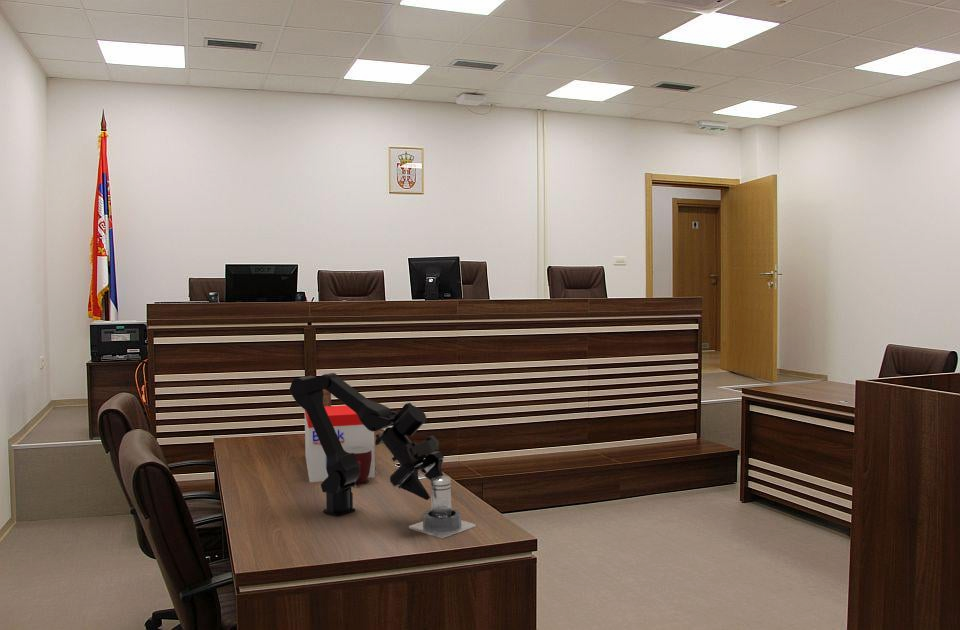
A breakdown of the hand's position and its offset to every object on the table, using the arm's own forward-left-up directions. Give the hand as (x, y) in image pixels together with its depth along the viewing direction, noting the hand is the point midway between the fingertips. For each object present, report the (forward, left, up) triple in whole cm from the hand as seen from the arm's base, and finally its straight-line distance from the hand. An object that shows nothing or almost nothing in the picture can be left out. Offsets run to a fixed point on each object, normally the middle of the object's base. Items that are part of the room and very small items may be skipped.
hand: (437, 494), depth 191 cm
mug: (+13, +49, -9) cm, 51 cm away
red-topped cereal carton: (+22, +71, -9) cm, 75 cm away
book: (+34, +99, -9) cm, 105 cm away
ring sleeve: (0, -1, -8) cm, 9 cm away
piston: (0, -1, -8) cm, 8 cm away
